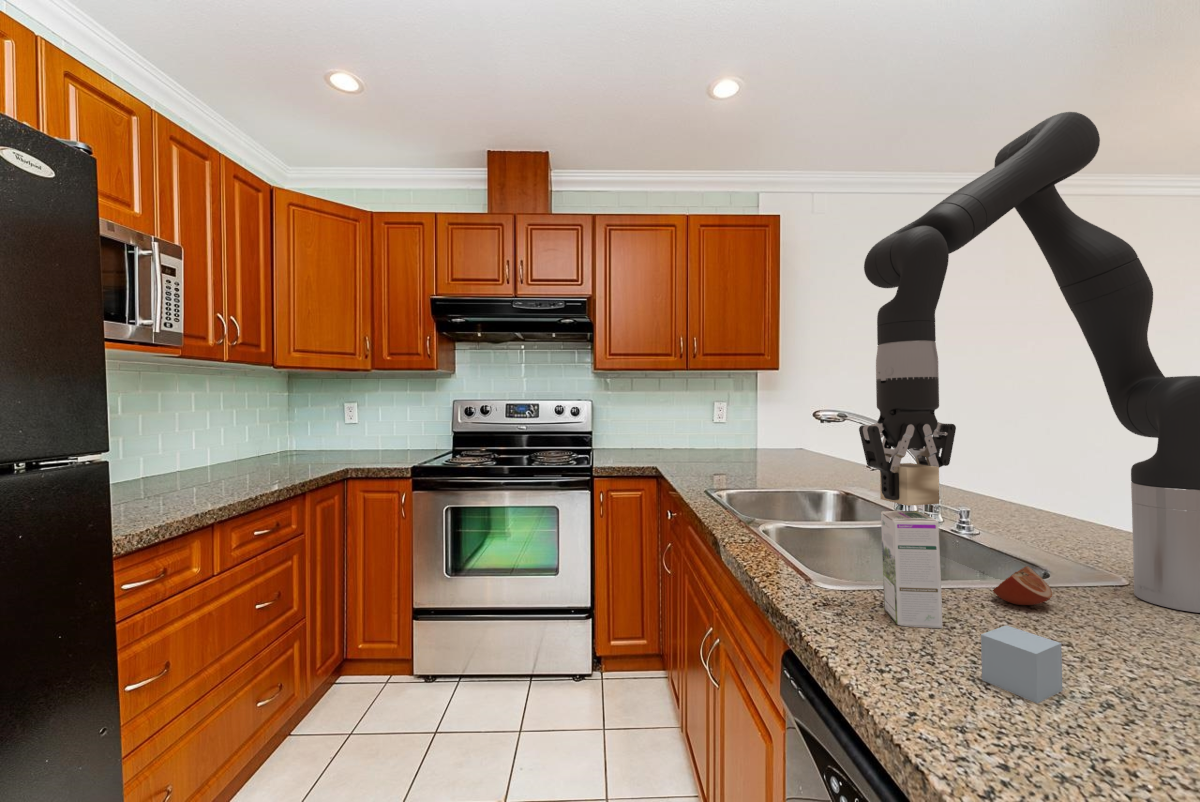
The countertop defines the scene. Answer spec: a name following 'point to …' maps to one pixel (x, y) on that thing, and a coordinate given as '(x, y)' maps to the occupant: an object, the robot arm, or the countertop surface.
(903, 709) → the countertop surface
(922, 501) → the maple block
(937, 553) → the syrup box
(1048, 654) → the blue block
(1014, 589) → the fruit slice
